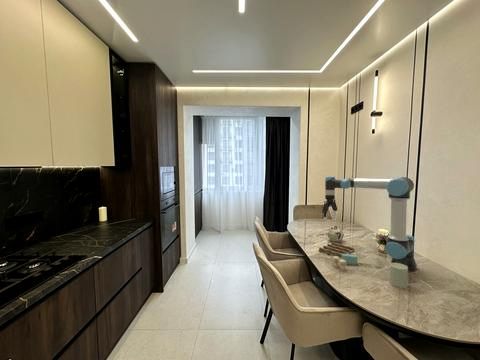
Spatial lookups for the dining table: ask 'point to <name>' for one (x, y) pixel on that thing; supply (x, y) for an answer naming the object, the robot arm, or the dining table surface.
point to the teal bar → (350, 258)
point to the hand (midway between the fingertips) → (329, 219)
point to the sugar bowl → (335, 234)
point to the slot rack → (336, 249)
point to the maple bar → (339, 263)
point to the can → (399, 275)
